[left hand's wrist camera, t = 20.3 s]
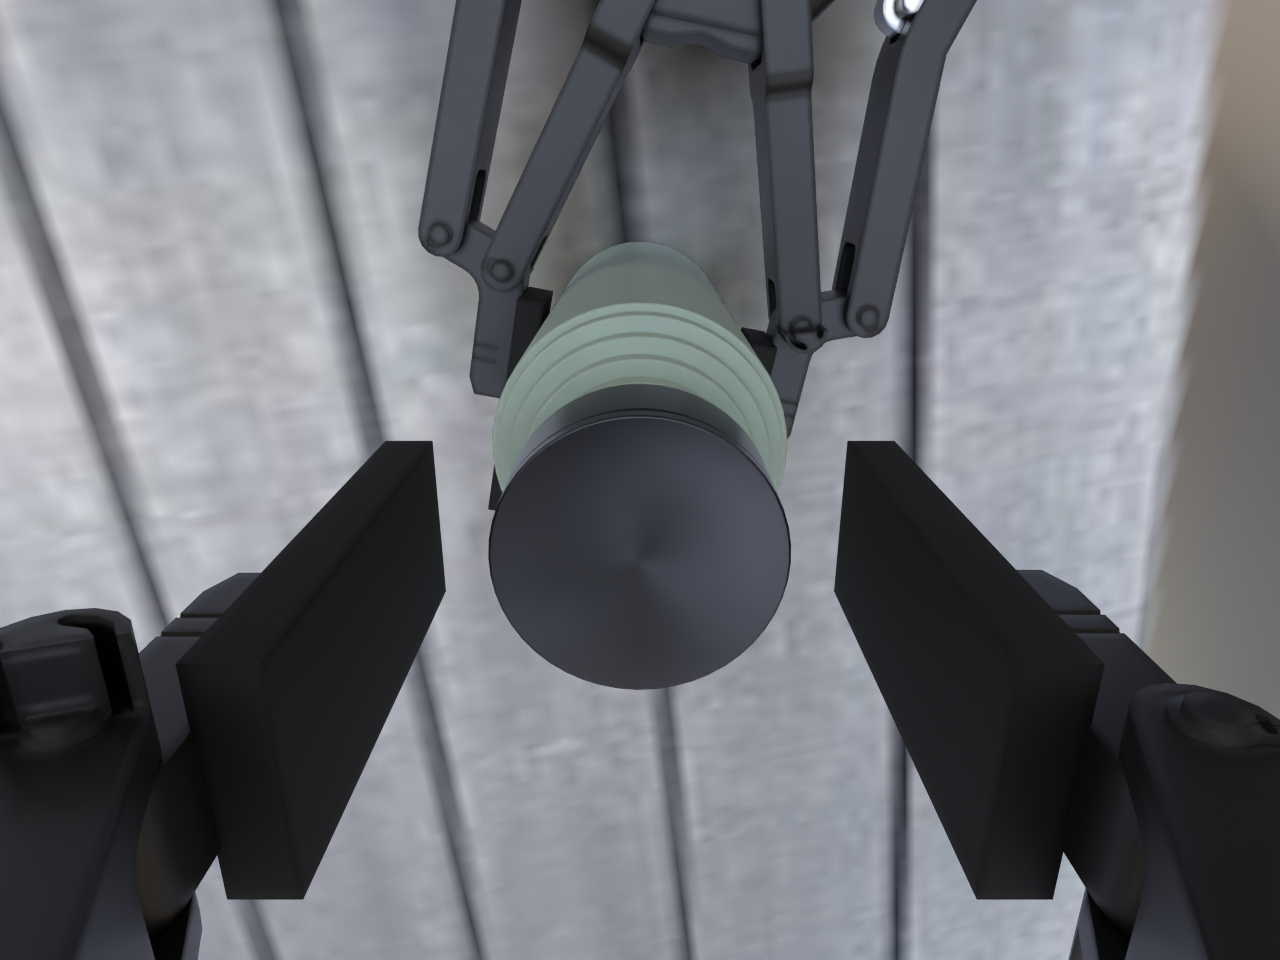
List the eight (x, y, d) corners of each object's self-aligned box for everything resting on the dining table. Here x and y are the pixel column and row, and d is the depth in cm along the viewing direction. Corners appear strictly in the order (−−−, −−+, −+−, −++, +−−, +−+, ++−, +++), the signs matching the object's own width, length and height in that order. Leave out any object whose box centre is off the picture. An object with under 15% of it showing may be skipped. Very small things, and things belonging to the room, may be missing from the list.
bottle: (721, 239, 30) (848, 344, 12) (720, 401, 32) (826, 707, 14) (554, 243, 30) (420, 354, 12) (563, 405, 32) (462, 714, 14)
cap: (569, 659, 15) (560, 726, 13) (463, 440, 14) (436, 481, 12) (805, 578, 15) (830, 636, 13) (720, 340, 13) (732, 368, 11)
